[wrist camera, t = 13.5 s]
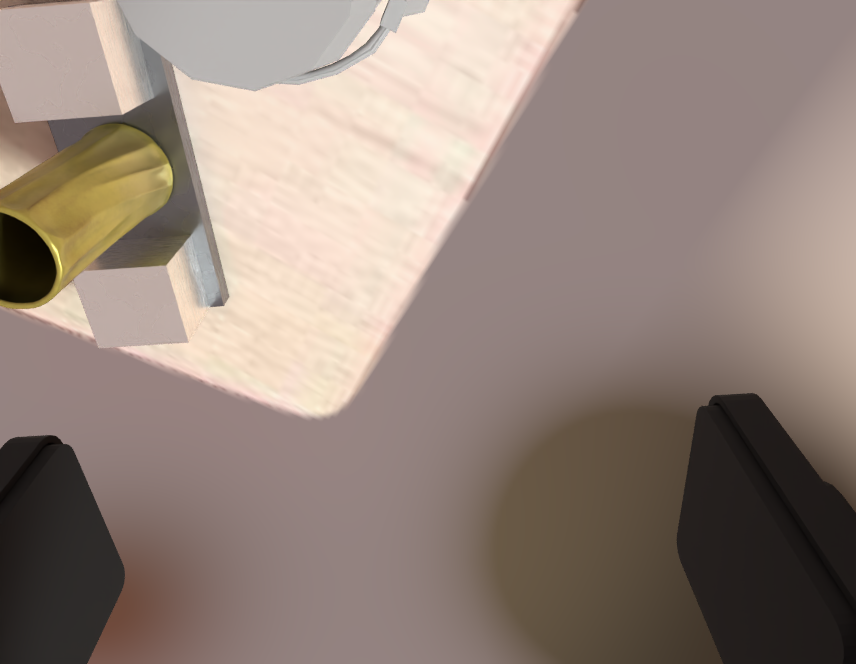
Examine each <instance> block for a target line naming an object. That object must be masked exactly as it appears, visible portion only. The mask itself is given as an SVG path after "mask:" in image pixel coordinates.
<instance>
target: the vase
mask: <svg viewBox="0 0 856 664" xmlns="http://www.w3.org/2000/svg"><path fill="white" fill-rule="evenodd" d="M172 188H173V174H172V169H171V166H170V163H169V160H168V158H167V157H166V155H165V153H164V152H163V151H162V149H161V148H160V147H159V146H158V145H157V144H156V143H155V142H154V140H153V139H152V138H151V137H149V136H148V135H147V134H145V133H143V132H142V131H140V130H138V129H136V128H133V127H131V126H127V125H124V124H104V125H100V126H97V127H95V128H93V129H92V130H90V131H89V132H87V133H86V134H85V135H84V136H83V137H82V139H81V140H79V141H78V142H76V143H75V144H73V145H71V146H69V147H67V148H65V149H63V150H62V151H60V152H59V153H57V154H56V155H54V156H53V157H51V158H50V159H48V160H47V161H45V162H43V163H42V164H40V165H38V166H37V167H35V168H34V169H32V170H30V171H29V172H27V173H26V174H24V175H23V176H21V177H20V178H18V179H16V180H15V181H13V182H12V183H10V184H8V185H7V186H5V187H4V188H2V189H0V306H3V307H6V308H12V309H30V308H36V307H39V306H42V305H44V304H46V303H47V302H49V301H50V300H51V299H53V298H54V297H55V296H56V295H57V294H58V293H59V292H60V291H61V290H62V289H63V288H65V287H66V286H67V285H68V284H69V283H70V282H71V281H72V280H73V279H74V278H75V277H77V276H78V275H79V274H80V273H81V272H82V271H83V270H84V269H86V268H87V267H88V266H89V265H90V264H91V263H92V262H93V261H94V260H95V259H96V258H97V257H99V256H100V255H101V254H102V253H103V252H104V251H106V250H107V249H108V248H109V247H110V246H111V245H112V244H114V243H115V242H116V241H117V240H118V239H120V238H121V237H122V236H123V235H125V234H126V233H127V232H129V231H130V230H131V229H132V228H134V227H135V226H136V225H138V224H139V223H140V222H141V221H142V220H144V219H145V218H146V217H148V216H150V215H152V214H154V213H155V212H157V211H158V210H159V209H160V208H161V207H163V206H164V205H165V204H166V203H167V201H168V199H169V197H170V195H171V192H172Z"/></svg>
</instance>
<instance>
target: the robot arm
mask: <svg viewBox="0 0 856 664" xmlns="http://www.w3.org/2000/svg"><path fill="white" fill-rule="evenodd" d="M677 548H678V554H679V558H680V561H681V564H682V566H683V568H684V571H685V573H686V575H687V578H688V580H689V583H690V585H691V587H692V590H693V592H694V595H695V597H696V599H697V602H698V604H699V607H700V609H701V611H702V614H703V616H704V618H705V621H706V623H707V626H708V628H709V630H710V633H711V635H712V638H713V640H714V642H715V645H716V647H717V650H718V652H719V654H720V657H721V659H722V662H723V664H856V512H855V511H854V510H853V509H852V507H851V506H850V505H849V503H848V502H847V501H846V499H845V498H844V497H843V496H842V494H841V493H840V492H839V491H838V490H837V489H836V488H835V487H834V486H833V485H831V484H829V483H827V482H825V481H823V480H822V479H821V478H820V477H819V475H818V474H817V472H816V471H815V470H814V468H813V467H812V466H811V464H810V463H809V462H808V461H807V459H806V458H805V456H804V455H803V454H802V453H801V451H800V450H799V448H798V447H797V446H796V444H795V443H794V442H793V441H792V439H791V438H790V436H789V435H788V434H787V433H786V431H785V430H784V428H783V427H782V426H781V424H780V423H779V422H778V420H777V419H776V418H775V416H774V415H773V414H772V412H771V411H770V410H769V408H768V407H767V406H766V404H765V403H764V402H763V400H762V399H761V398H760V397H759V396H758V395H757V394H753V393H747V394H731V395H715V396H713V397H712V398H711V400H710V401H709V405H708V406H702V407H700V408H699V409H698V411H697V416H696V421H695V427H694V434H693V440H692V446H691V452H690V458H689V465H688V471H687V477H686V483H685V489H684V495H683V502H682V508H681V514H680V520H679V526H678V533H677ZM124 577H125V571H124V566H123V563H122V561H121V559H120V556H119V554H118V552H117V549H116V547H115V545H114V542H113V540H112V538H111V535H110V533H109V531H108V529H107V526H106V524H105V522H104V519H103V517H102V515H101V512H100V510H99V508H98V505H97V503H96V501H95V499H94V496H93V494H92V492H91V489H90V487H89V485H88V482H87V480H86V478H85V476H84V473H83V471H82V469H81V466H80V464H79V462H78V460H77V457H76V455H75V453H74V451H73V449H72V447H70V446H69V445H67V444H63V443H62V442H61V440H60V439H59V438H58V437H56V436H52V435H45V436H28V437H15V438H12V439H10V440H9V441H7V442H6V443H5V444H4V445H3V447H2V448H1V449H0V664H87V663H88V661H89V659H90V657H91V654H92V652H93V650H94V648H95V646H96V644H97V642H98V640H99V637H100V636H101V633H102V631H103V629H104V627H105V625H106V623H107V620H108V618H109V616H110V614H111V612H112V610H113V608H114V606H115V604H116V601H117V600H118V597H119V595H120V593H121V591H122V588H123V585H124V579H125V578H124Z"/></svg>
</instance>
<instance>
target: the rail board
mask: <svg viewBox="0 0 856 664" xmlns="http://www.w3.org/2000/svg"><path fill="white" fill-rule="evenodd" d="M0 85H1V88H2V90H3V93H4V96H5V98H6V101H7V104H8V106H9V109H10V112H11V114H12V117H13V120H14V122H15V123H19V122H33V121H46V120H48V123H49V126H50V129H51V132H52V135H53V138H54V141H55V143H56V146H57V149H58V152H60V151H62V150H63V149H65V148H67V147H69V146H71V145H73V144H75V143H76V142H78V141H79V140H81V139H82V137H83V136H84V135H85V134H86V133H87V132H89V131H90V130H92V129H93V128H95V127H97V126H100V125H104V124H124V125H127V126H131V127H133V128H136V129H138V130H140V131H142V132H143V133H145V134H147V135H148V136H149V137H151V138H152V139H153V140H154V142H155V143H156V144H157V145H158V146H159V147H160V148H161V149H162V151H163V152H164V153H165V155H166V157H167V158H168V160H169V163H170V166H171V169H172V174H173V188H172V192H171V195H170V197H169V199H168V201H167V203H166V204H165V205H164V206H163V207H161V208H160V209H159V210H158V211H157V212H155V213H154V214H152V215H150V216H148V217H146V218H145V219H144V220H142V221H141V222H140V223H139V224H138V225H136V226H135V227H134V228H132V229H131V230H130V231H129V232H127V233H126V234H125V235H123V236H122V237H121V238H120V239H118V240H117V241H116V242H115V243H114V244H112V245H111V246H110V247H109V248H108V249H107V250H106V251H104V252H103V253H102V254H101V255H100V256H99V257H97V258H96V259H95V260H94V261H93V262H92V263H91V264H90V265H89V266H88V267H87V268H86V269H84V270H83V271H82V272H81V273H80V274H79V275H78V276H77V277H75V278H74V279H73V281H74V283H75V286H76V289H77V291H78V294H79V297H80V299H81V302H82V305H83V308H84V310H85V313H86V316H87V318H88V321H89V324H90V326H91V329H92V332H93V334H94V337H95V340H96V342H97V345H98V348H109V347H125V346H141V345H156V344H172V343H187V342H189V341H190V339H191V338H192V336H193V334H194V333H195V331H196V329H197V328H198V326H199V324H200V323H201V321H202V319H203V318H204V316H205V315H206V313H207V311H208V310H209V308H210V307H216V306H224V305H225V303H226V301H227V300H228V298H229V294H228V290H227V286H226V282H225V278H224V274H223V269H222V265H221V261H220V257H219V253H218V249H217V245H216V241H215V237H214V233H213V229H212V225H211V221H210V217H209V213H208V209H207V205H206V201H205V197H204V193H203V189H202V184H201V180H200V176H199V172H198V168H197V164H196V160H195V156H194V152H193V148H192V144H191V140H190V136H189V132H188V128H187V124H186V120H185V116H184V112H183V108H182V103H181V99H180V95H179V91H178V87H177V83H176V79H175V75H174V71H173V67H172V63H170V62H169V61H168V60H167V59H165V58H164V57H163V56H161V55H160V54H159V53H158V52H156V51H155V50H154V49H153V48H151V47H150V46H149V45H147V44H146V43H145V42H144V41H142V40H141V39H140V38H138V37H137V36H136V35H135V33H134V31H133V29H132V28H131V26H130V24H129V22H128V20H127V18H126V16H125V14H124V12H123V11H122V9H121V7H120V5H119V3H118V1H117V0H73V1H61V2H48V3H36V4H24V5H15V6H8V8H0Z"/></svg>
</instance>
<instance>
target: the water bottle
mask: <svg viewBox="0 0 856 664" xmlns="http://www.w3.org/2000/svg"><path fill="white" fill-rule="evenodd" d="M117 1H118V3H119V5H120V7H121V9H122V11H123V12H124V14H125V16H126V18H127V20H128V22H129V24H130V26H131V28H132V29H133V31H134V33H135V35H136V36H137V37H138V38H140V39H141V40H142V41H144V42H145V43H146V44H147V45H149V46H150V47H151V48H153V49H154V50H155V51H156V52H158V53H159V54H160V55H161V56H163V57H164V58H165V59H167V60H168V61H169V62H170V63H172V64H173V65H174V66H176V67H177V68H178V69H179V70H181V71H182V72H183V73H185V74H186V75H187V76H188V77H190V78H191V79H193V80H198V81H203V82H209V83H214V84H219V85H225V86H230V87H235V88H241V89H246V90H251V91H257V90H260V89H263V88H266V87H269V86H272V85H275V84H293V85H300V84H303V83H307V82H311V81H315V80H318V79H322V78H326V77H329V76H333V75H337V74H339V73H341V72H342V71H344V70H346V69H348V68H349V67H351V66H353V65H355V64H356V63H358V62H360V61H361V60H363V59H365V58H367V57H368V56H370V55H372V54H374V53H375V52H376V50H377V49H378V48H379V46H380V45H381V43H382V42H383V40H384V39H385V37H386V36H387V34H388V33H389V31H390V30H391V31H393V32H395V33H396V31H397V29H398V26H399V24H400V21H401V19H402V17H404V16H409V15H413V14H418V13H423V12H425V9H426V7H427V5H428V2H429V0H389V1H388V3H387V6H386V8H385V11H384V13H383V16H382V18H381V22H380V27H379V28H378V30H377V31H376V32H375V33H374V34H373V35H372V37H371V38H370V39H369V40H368V41H367V42H366V44H364V45H363V46H362V47H360V48H359V49H357V50H356V51H355V52H353V53H352V54H351V55H349V56H347V57H345V58H343V59H341V60H339V59H340V58H341V57H342V55H343V54H344V52H345V51H346V50H347V48H348V47H349V46H350V44H351V43H352V42H353V40H354V39H355V37H356V36H357V35H358V33H359V32H360V31H361V29H362V28H363V27H364V25H365V24H366V22H367V21H368V20H369V18H370V17H371V16H372V14H373V13H374V12H375V8H376V7H377V6H378V4H379V3H380V2H381V0H117ZM337 60H339V61H337ZM335 61H337V62H335ZM332 62H335V63H333V64H331V65H328V66H325V65H327V64H330V63H332ZM322 66H325V67H322ZM320 67H322V68H320ZM317 68H319V69H317ZM314 69H316V70H314ZM312 70H313V71H312Z"/></svg>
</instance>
